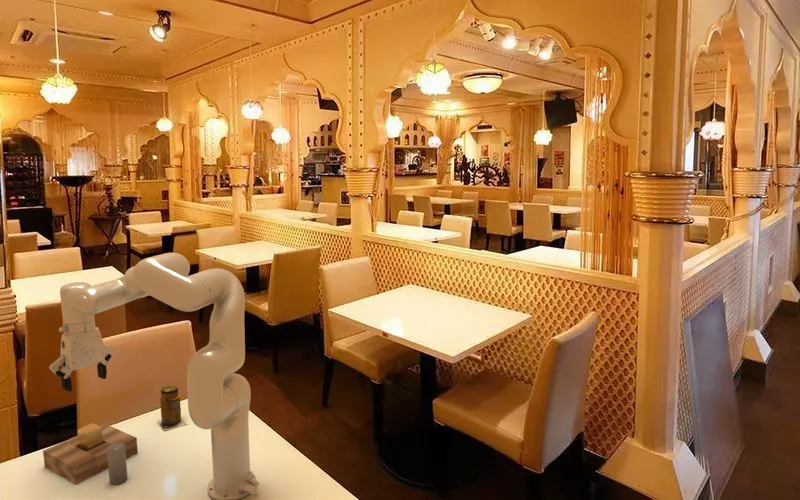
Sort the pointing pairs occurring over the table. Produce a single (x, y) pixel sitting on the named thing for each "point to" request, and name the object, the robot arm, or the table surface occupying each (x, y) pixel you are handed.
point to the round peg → (117, 463)
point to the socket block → (86, 455)
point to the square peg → (90, 437)
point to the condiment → (170, 408)
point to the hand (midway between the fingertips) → (85, 383)
